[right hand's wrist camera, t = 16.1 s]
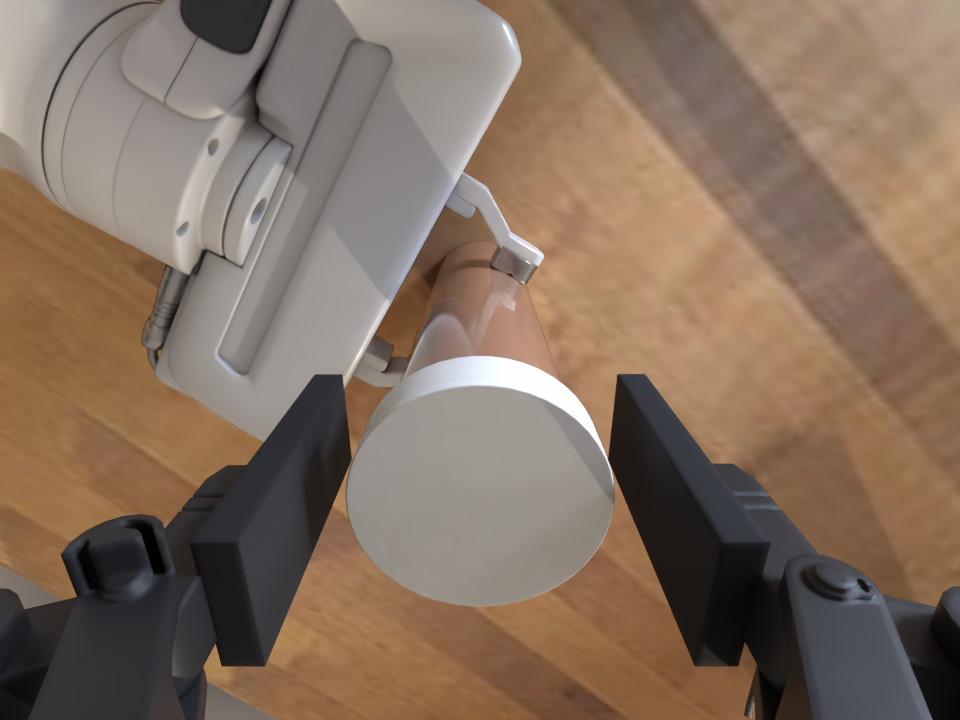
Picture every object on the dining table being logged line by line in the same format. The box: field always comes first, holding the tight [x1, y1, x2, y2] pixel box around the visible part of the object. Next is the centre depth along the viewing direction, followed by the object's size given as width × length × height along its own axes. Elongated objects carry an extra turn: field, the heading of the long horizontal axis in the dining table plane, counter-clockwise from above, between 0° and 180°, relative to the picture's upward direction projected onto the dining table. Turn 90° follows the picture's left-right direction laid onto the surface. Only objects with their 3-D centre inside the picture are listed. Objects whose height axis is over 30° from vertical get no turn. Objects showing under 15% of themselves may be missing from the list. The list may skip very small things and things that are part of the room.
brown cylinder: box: [399, 241, 561, 383], centre depth 20 cm, size 5×5×19 cm
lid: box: [346, 356, 615, 606], centre depth 12 cm, size 6×6×2 cm
